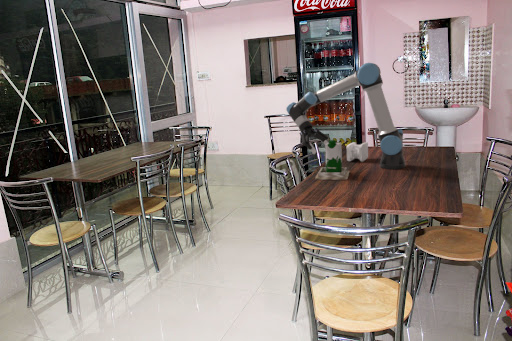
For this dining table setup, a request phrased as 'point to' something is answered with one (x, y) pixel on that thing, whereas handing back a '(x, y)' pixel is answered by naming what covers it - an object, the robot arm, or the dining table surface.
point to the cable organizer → (357, 151)
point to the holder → (332, 174)
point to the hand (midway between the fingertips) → (323, 151)
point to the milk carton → (333, 157)
